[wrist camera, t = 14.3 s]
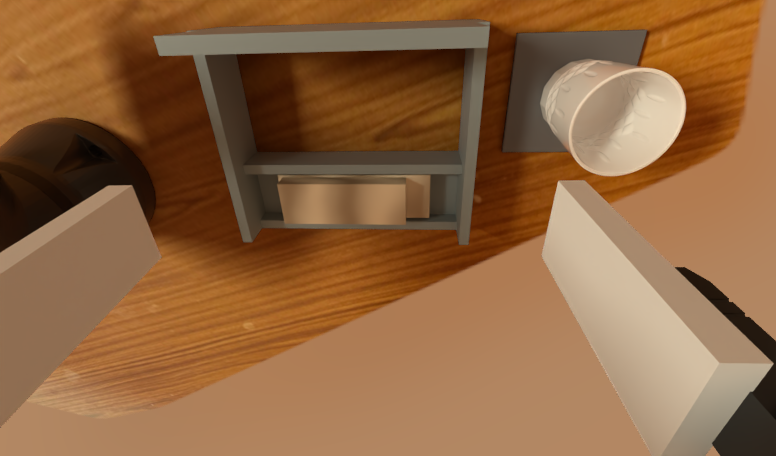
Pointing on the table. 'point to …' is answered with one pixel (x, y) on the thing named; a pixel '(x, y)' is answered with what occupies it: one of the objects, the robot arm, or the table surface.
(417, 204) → the block
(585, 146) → the white cup
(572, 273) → the robot arm
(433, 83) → the table surface
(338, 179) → the upper offcut
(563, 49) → the mat
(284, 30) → the rack
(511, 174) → the table surface
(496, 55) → the table surface
